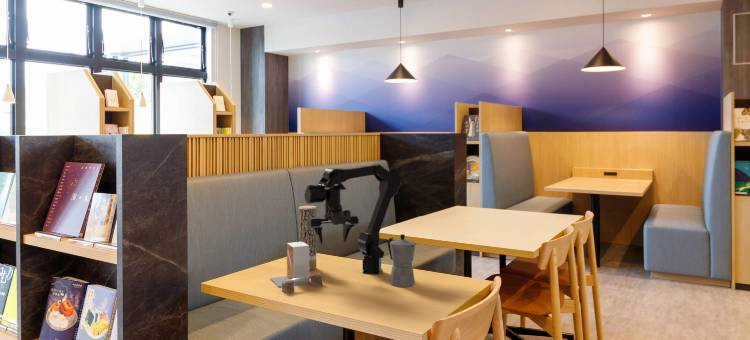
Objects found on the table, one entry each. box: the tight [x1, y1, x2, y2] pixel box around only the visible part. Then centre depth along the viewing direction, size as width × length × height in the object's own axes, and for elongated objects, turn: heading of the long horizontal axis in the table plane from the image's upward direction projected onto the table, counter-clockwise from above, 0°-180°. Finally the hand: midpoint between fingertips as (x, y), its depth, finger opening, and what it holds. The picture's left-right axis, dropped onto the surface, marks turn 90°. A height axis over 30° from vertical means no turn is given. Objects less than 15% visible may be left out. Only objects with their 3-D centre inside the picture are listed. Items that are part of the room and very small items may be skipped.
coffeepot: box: [387, 233, 416, 288], centre depth 195 cm, size 15×9×18 cm, turn 34°
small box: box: [286, 241, 310, 282], centre depth 199 cm, size 8×6×13 cm
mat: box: [270, 275, 311, 288], centre depth 198 cm, size 12×12×1 cm
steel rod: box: [282, 272, 323, 284], centre depth 189 cm, size 16×1×1 cm, turn 132°
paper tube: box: [298, 205, 317, 272], centre depth 215 cm, size 7×7×25 cm
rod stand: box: [281, 275, 323, 294], centre depth 189 cm, size 15×3×3 cm, turn 132°
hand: (332, 243), depth 202 cm, fingers open, 9 cm apart
